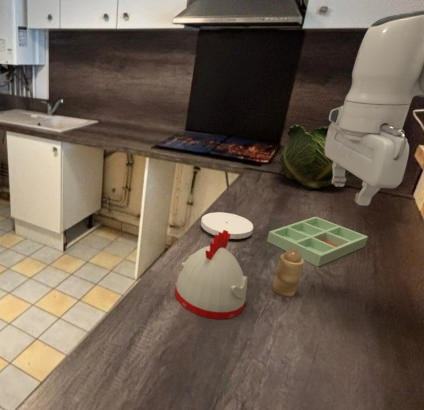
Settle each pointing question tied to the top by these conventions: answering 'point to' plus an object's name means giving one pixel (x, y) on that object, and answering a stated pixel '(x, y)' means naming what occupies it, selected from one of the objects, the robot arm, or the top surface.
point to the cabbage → (307, 158)
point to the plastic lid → (227, 224)
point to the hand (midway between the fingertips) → (348, 194)
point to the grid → (317, 240)
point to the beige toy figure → (288, 273)
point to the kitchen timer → (212, 281)
